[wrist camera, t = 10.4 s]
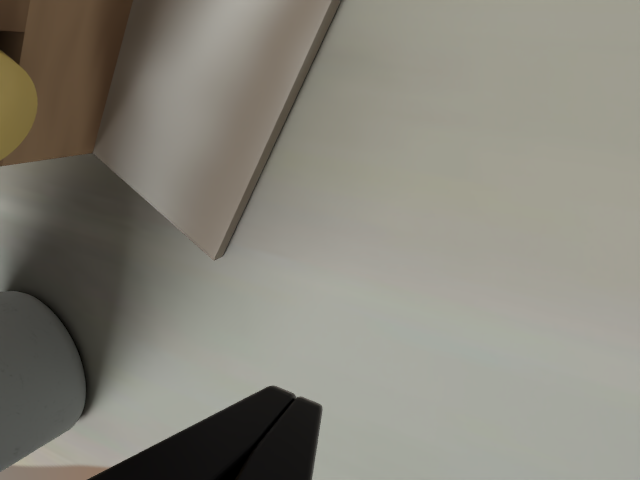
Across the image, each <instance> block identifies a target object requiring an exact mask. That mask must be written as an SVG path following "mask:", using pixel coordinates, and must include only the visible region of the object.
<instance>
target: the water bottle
mask: <svg viewBox="0 0 640 480" xmlns="http://www.w3.org/2000/svg"><path fill="white" fill-rule="evenodd" d="M85 397H86V384H85V376H84V370H83V366H82V363H81V360H80V356H79V353H78V351H77V349H76V346H75V344H74V342H73V340H72V338H71V336H70V335H69V333H68V331H67V329H66V328H65V327H64V325H63V324H62V322H61V321H60V320H59V318H58V317H57V316H56V315H55V314H54V313H53V312H52V311H51V310H50V309H49V308H48V307H47V306H46V305H45V304H43V303H42V302H41V301H39V300H38V299H37V298H35V297H33V296H31V295H29V294H26V293H22V292H17V291H6V292H0V472H1V471H2V470H4V469H6V468H8V467H9V466H11V465H12V464H14V463H16V462H17V461H19V460H21V459H22V458H24V457H25V456H27V455H29V454H30V453H32V452H34V451H35V450H37V449H38V448H40V447H42V446H43V445H45V444H47V443H48V442H50V441H51V440H53V439H55V438H56V437H58V436H60V435H61V434H63V433H64V432H66V431H68V430H69V429H71V428H72V427H73V426H74V424H75V423H76V422H77V421H78V419H79V417H80V416H81V414H82V411H83V408H84V405H85Z"/></svg>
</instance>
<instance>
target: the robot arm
mask: <svg viewBox="0 0 640 480" xmlns="http://www.w3.org/2000/svg"><path fill="white" fill-rule="evenodd" d="M321 416H322V406H321V405H320V404H318V403H316V402H313V401H311V400H309V399H306V398H304V397H297V398H296V396H295V394H293V393H291V392H289V391H286V390H284V389H282V388H279V387H277V386H269V387H266V388H264V389H262V390H260V391H259V392H257V393H255V394H253V395H251V396H249V397H247V398H245V399H243V400H241V401H239V402H237V403H235V404H233V405H231V406H229V407H227V408H226V409H224V410H222V411H220V412H218V413H216V414H214V415H212V416H210V417H208V418H206V419H204V420H202V421H200V422H198V423H196V424H194V425H192V426H191V427H189V428H187V429H185V430H183V431H181V432H179V433H177V434H175V435H173V436H171V437H169V438H167V439H165V440H163V441H161V442H159V443H157V444H156V445H154V446H152V447H150V448H148V449H146V450H144V451H142V452H140V453H138V454H136V455H134V456H132V457H130V458H128V459H126V460H124V461H122V462H121V463H119V464H117V465H115V466H113V467H111V468H109V469H107V470H105V471H103V472H101V473H99V474H97V475H95V476H93V477H91V478H90V479H88V480H312V475H313V469H314V462H315V456H316V449H317V443H318V436H319V429H320V423H321Z"/></svg>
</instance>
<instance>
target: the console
mask: <svg viewBox="0 0 640 480" xmlns="http://www.w3.org/2000/svg"><path fill="white" fill-rule="evenodd" d="M340 2H341V0H0V50H1V51H3V52H4V53H5V54H7V55H8V56H9V57H10V58H11V59H13V60H14V61H15V62H16V63H17V64H18V65H19V66H21V67H22V68H23V69H24V70H25V71H26V72H27V74H28V75H29V76H30V78H31V80H32V82H33V83H34V86H35V89H36V93H37V102H38V106H37V113H36V117H35V120H34V123H33V125H32V128H31V129H30V131H29V133H28V135H27V136H26V137H25V139H24V140H23V141H22V142H21V144H20V145H19V146H18V147H17V148H16V149H15V150H14V151H13V152H11V153H10V154H9V155H8V156H6V157H5V158H3V159H2V160H0V166H6V165H13V164H20V163H26V162H33V161H40V160H47V159H54V158H61V157H68V156H75V155H82V154H89V153H93V154H94V155H95V156H96V157H98V158H99V159H100V160H101V161H102V162H103V163H104V164H105V165H107V166H108V167H109V168H110V169H111V170H112V171H113V172H115V173H116V174H117V175H118V176H119V177H120V178H121V179H122V180H124V181H125V182H126V183H127V184H128V185H129V186H130V187H131V188H133V189H134V190H135V191H136V192H137V193H138V194H139V195H140V196H142V197H143V198H144V199H145V200H146V201H147V202H148V203H149V204H151V205H152V206H153V207H154V208H155V209H156V210H157V211H158V212H160V213H161V214H162V215H163V216H164V217H165V218H166V219H167V220H169V221H170V222H171V223H172V224H173V225H174V226H175V227H177V228H178V229H179V230H180V231H181V232H182V233H183V234H184V235H186V236H187V237H188V238H189V239H190V240H191V241H192V242H193V243H195V244H196V245H197V246H198V247H199V248H200V249H201V250H202V251H204V252H205V253H206V254H207V255H208V256H209V257H210V258H211V259H213V260H216V259H218V258H220V257H222V256H223V254H224V252H225V250H226V248H227V246H228V244H229V241H230V239H231V237H232V235H233V233H234V231H235V228H236V226H237V224H238V222H239V220H240V218H241V215H242V213H243V211H244V209H245V207H246V205H247V202H248V200H249V198H250V196H251V194H252V192H253V190H254V187H255V185H256V183H257V181H258V179H259V177H260V174H261V172H262V170H263V168H264V166H265V164H266V161H267V159H268V157H269V155H270V153H271V151H272V148H273V146H274V144H275V142H276V140H277V138H278V136H279V133H280V131H281V129H282V127H283V125H284V123H285V120H286V118H287V116H288V114H289V112H290V110H291V107H292V105H293V103H294V101H295V99H296V97H297V94H298V92H299V90H300V88H301V86H302V84H303V81H304V79H305V77H306V75H307V73H308V71H309V69H310V66H311V64H312V62H313V60H314V58H315V56H316V53H317V51H318V49H319V47H320V45H321V43H322V40H323V38H324V36H325V34H326V32H327V30H328V27H329V25H330V23H331V21H332V19H333V17H334V15H335V12H336V10H337V8H338V6H339V4H340Z"/></svg>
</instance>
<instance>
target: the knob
mask: <svg viewBox="0 0 640 480" xmlns="http://www.w3.org/2000/svg"><path fill="white" fill-rule="evenodd" d="M37 106H38V102H37V93H36V89H35V86H34V83H33V82H32V80H31V78H30V76H29V75H28V74H27V72H26V71H25V70H24V69H23V68H22V67H21V66H19V65H18V64H17V63H16V62H15V61H14V60H13V59H11V58H10V57H9V56H8V55H7V54H5V53H4V52H3V51H1V50H0V160H2V159H3V158H5V157H6V156H8V155H9V154H10V153H11V152H13V151H14V150H15V149H16V148H17V147H18V146H19V145H20V144H21V142H22V141H23V140H24V139H25V137H26V136H27V135H28V133H29V131H30V129H31V128H32V125H33V123H34V120H35V117H36V113H37Z"/></svg>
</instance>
